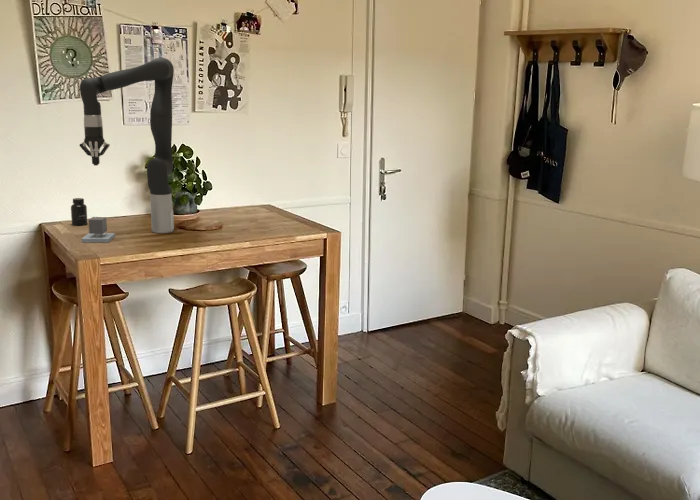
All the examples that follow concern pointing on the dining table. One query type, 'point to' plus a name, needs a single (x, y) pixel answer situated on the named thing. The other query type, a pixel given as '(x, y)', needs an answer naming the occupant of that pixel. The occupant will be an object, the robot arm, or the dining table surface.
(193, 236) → the dining table surface
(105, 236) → the post base
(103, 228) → the block
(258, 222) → the dining table surface
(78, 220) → the supplement bottle
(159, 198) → the robot arm
